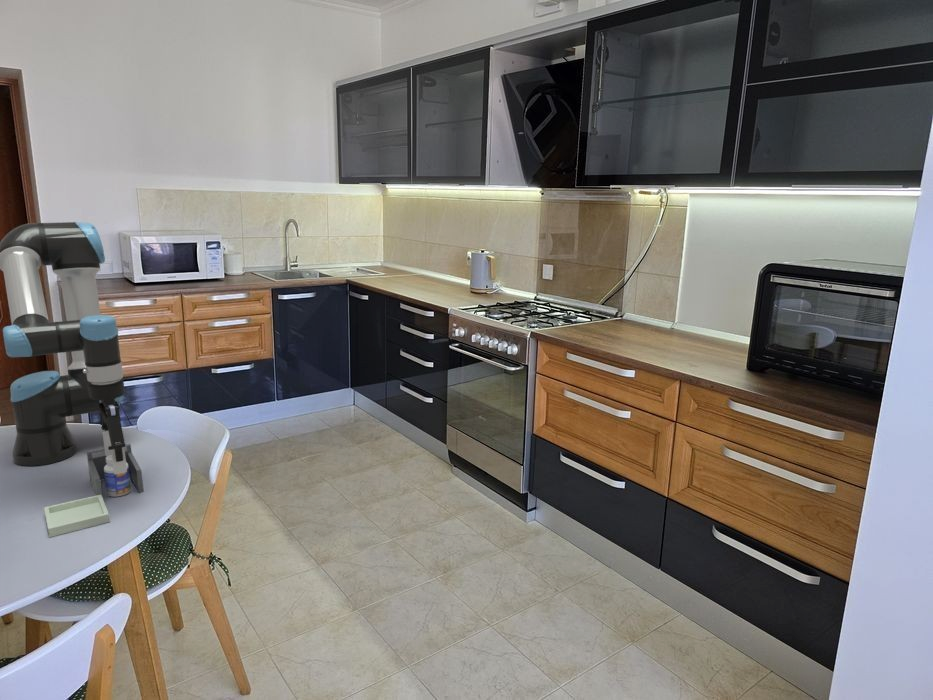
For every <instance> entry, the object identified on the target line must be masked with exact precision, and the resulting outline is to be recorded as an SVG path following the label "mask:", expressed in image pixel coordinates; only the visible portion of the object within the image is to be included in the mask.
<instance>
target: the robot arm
mask: <svg viewBox="0 0 933 700" xmlns="http://www.w3.org/2000/svg"><path fill="white" fill-rule="evenodd" d="M104 253H105V252H104V247H103V244H102V240H101V237H100V234H99V232H98V229H97V228H96V226H95V225H94V224H92V223H90V222H77V221H73V222H71V221H70V222H69V221H67V222H64V221H63V222H30V223H25V224H21V225H18V226H16V227H14V228H13V229H12V230H9V232H8V233H7V234H5V235H4V237H3V238H2V239H1V241H0V271H2V273H3V278H4V283H5V291H6V295H7V296H6V297H7V302H8V308H9V309H8V310H9V315H10V316H9V317H10V322H11V325H7V326H6V325H5V326H4V327H3V328H2V335H3V342H4V348H5V353H6V355H7V356H8V357H10V358H24V357H25V358H29V357H36V356H44V355H45V356H46V355H53V354H59V353H60V354H61V353H62V354H63V353H71V358H72V362H71V364H70V365H69V366H68V367H67V374H65V375H61V374H60V373H59V372H58V371H57V370H42V371H37V372H33V373H30V374H27V375H24V376H21V377H19V378H17V379H15V380H14V381H13V382H12V383H11V384H10V386H9V387H10V388H9V389H10V402H11V403H12V410H13V417H14V423H15V428H16V436H15V440H14V445H13V450H12V459H13V462H14V464H16V465H19V466H25V467H34V466H35V467H36V466H44V465H49V464H54V463H57V462H61V461H63V460H65V459H69V458H70V457H72V456H74V455H75V454H76V453H77V451H78V446H77V441H76V439H75V438H74V436H73V434H72V433H71V432H72V431H70V429H69V427H68V425H67V421H66V417H72V416H79V415H85V414H91V413H96V412H97V413H98V412H99V420H100V422H99V424H100V426H101V430H102V431H101V433H102V439H103V449H105V455H106V456H108V455H111V454H112V462H113V470H114V475H115V474H120V473H125V472H127V466H126V458H125V450H124V447H125V445H126V443H125V438H124V433H123V427H122V426H123V425H122V422H121V414H120V405H121V402H122V398H123V396H124V395H125V392H126V391H125V382H124V379H123V378H124V370H123V363H122V360H121V359H122V358H121V353H120V352H121V351H120V342H119V328H118V326H117V325H118V324H117V320H116V318H115V317H114V316H113V315H108V314H107V315H106V314H101V307H100V306H101V305H100V299H99V292H98V286H97V280H96V275H97V274H98V273H99V271H101V264H104V263H105V261H106V258H105V257H106V256H105V254H104ZM41 266H51V269H52V273H53V274H54V275H56V276H57V277H59V280H60V285H61V291H62V292H61V293H62V298H63V305H64V311H65V318H66V320H62V321H49V315H48V310H47V305H46V302H45V301H46V299H45V296H44V292H43V291H44V290H43V287H42V285H43V284H42V281H41V275H40V272H39V270H40V268H41Z"/></svg>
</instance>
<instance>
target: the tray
mask: <svg viewBox="0 0 933 700" xmlns="http://www.w3.org/2000/svg"><path fill="white" fill-rule="evenodd" d="M102 497H103V494H102V495H101V494H100V495H92V496H88V497H83V498H79V499H75V500H70V501H67V502H66V501H65V502H62V503H57V504H53V505H50V506H49V505H48V506H44V507H43V509H44V516H45V521H46V526H47V531H48V536H49V538H52V537H55V536H60V535H64V534H68V533H72V532H75V531H79V530H83V529H88V528H92V527H95V526H100V525H104V524H107V523H110V522H111V521H110V515H109V511H108V509H107V506H106V503H105V501H104V498H102Z"/></svg>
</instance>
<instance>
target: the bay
mask: <svg viewBox="0 0 933 700" xmlns="http://www.w3.org/2000/svg"><path fill="white" fill-rule="evenodd" d="M124 450H125V458H126V462H127V463H128V466H129V475H130V477H131V479H132V481H133V484H134V485H135V487H136V489H137V491H138V493H143V492H145V491H144V484H143V481H144V480H143V473H142V469H141V467H140V465H139V463H138V461H137V459H136V458H135V456H134V454H133V451H132V445H131V443H128V444H127V443H126V444H125V447H124ZM86 456H87V465H88V466H87V467H88V471H89V478H90V484H91V486H92V489H93V491H94V494H95V495H94V496H96V495H100V494H101V495H102V498H103V491H102V484H101V483H102V482H101V481H103V480H104V481H105V475H104V467H105V466H106V465H107V463H106V457H107V456H106V455H105V448H102V449H97V450H91V451H87V452H86ZM103 499H104V498H103Z"/></svg>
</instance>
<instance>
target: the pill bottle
mask: <svg viewBox="0 0 933 700" xmlns="http://www.w3.org/2000/svg"><path fill="white" fill-rule="evenodd" d="M106 463H107V465H106V466H105V467H104V475H105V479H104V481H105V482H104V483H105V491H106V494H107V496H109V497H115V498H117V497H123V496H126V495H127V494H129V493H130V492H131V491H132V485H131V478H130V477H131V475H130V474H129V466H128V463H127V462H126V466H127V472H125V473H120V474H115V475H114V470H113V462H112V454H111V455H108V456H107V457H106Z"/></svg>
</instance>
